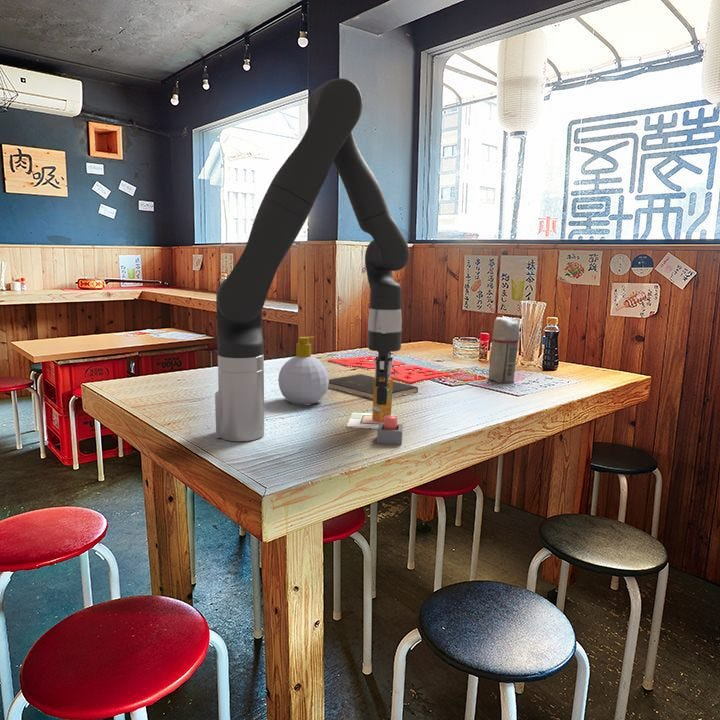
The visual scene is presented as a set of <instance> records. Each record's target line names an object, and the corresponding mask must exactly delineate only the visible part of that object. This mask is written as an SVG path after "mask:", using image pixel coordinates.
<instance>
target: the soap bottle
mask: <svg viewBox="0 0 720 720" xmlns="http://www.w3.org/2000/svg"><path fill="white" fill-rule="evenodd" d="M311 339H312V340H313V339H315V336H299V337H298V343H296V346H295V347H296V349H295V350H296V351H295V352H296V355H295V356H294V357H293V356H292V357H291V358H289V359H288V360H287V361H286V362H285V363H284V364H283V365H282V367H281V368H280V370H279V373H278V379H277V381H278V387H279V388H278V389H279V390H280V392H281V395H282V396H283V397H284V398H285V400H286V401H288V402H289V403H290V404H293V405H296V406H297V405H298V406H310V405H314V404H316V403H317V402H319V401H320V400H321V399H322V398H323V397H324V396H325V395H326V393H327V391H328V389H329V387H328V384H329V379H330V378H329V373H328V370H327V368H326V367H325V365H324V364H323V363H322V362H321V361H320V360H319V359H318V358H316V357H314V356H312V343H310V341H309V340H311Z"/></svg>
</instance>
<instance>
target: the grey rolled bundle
mask: <svg viewBox="0 0 720 720" xmlns="http://www.w3.org/2000/svg"><path fill="white" fill-rule="evenodd" d="M519 340H520V323H519V321H518V320H516V319H514V318H508V317H502V316H497V317H496V318H495V319H494V323H493V327H492V338H491V347H490V348H491V350H490V358H489V360H490V361H489V367H488V378H487V379H488V380H490V381H495V382H499V383H513V382H515V372H516V362H517V354H518V345H519Z"/></svg>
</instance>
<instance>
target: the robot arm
mask: <svg viewBox="0 0 720 720" xmlns="http://www.w3.org/2000/svg"><path fill="white" fill-rule="evenodd" d="M363 102H364V100H363V96H362V93H361V90H360V88H359V87H358V85H357V84H356V83H355V82H354V81H352V80H350V79H347V78H343V77H342V78H335V79H331V80H328V81H327V82H325V83H323V84H322V85H321V84H320V85H319V86H318V87H316V88H315V89H314V90H313V91H312V92H311V94H310V95H309V98H308V100H307V114H308V116H309V120H310V121H309V123H308V126H307V128H306V130H305V133H304V134H303V137H302V138H301V140H300V141H299V143H298V144H297V146H296V147H295V149H294V150H293V151H292V152H291V153H290V155H289V156H288V157H287V159H286V160H285V161H284V163H283V164H282V165H281V166H280V168H279V169H278V171H277V172H276V174H275V175H274V177H273V179H272V180H271V182H270V184H269V186H268V188H267V190H266V191H265V194H264V196H263V199H262V201H261V202H260V204H259V207H258V210H257V211H256V214H255V217H254V220H253V223H252V227H251V230H250V233H249V236H248V240H247V243H246V245H245V247H244V249H243V251H242V254H241V255H240V257H239V259H238V260H237V262H236V264H235V265H234V267H233V268H232V270H231V271H230V272H229V275H228V276H227V277H226V278H225V279H224V280H223V281H221V283H219V286H218V288H217V291H216V294H215V295H216V304H215V305H216V337H217V338H216V342H217V345H216V347H217V373H218V374H217V378H218V380H217V382H218V386H217V387H218V390H217V391H216V392H215V394H214V404H215V405H214V407H215V438H216V439H223V440H225V441H229V442H249V441H254V440H258V439H261V438H262V437H263V436H265V377H264V376H265V374H264V373H265V369H264V367H265V364H264V363H265V360H264V359H265V358H264V357H265V356H264V355H265V354H264V353H265V351H264V346H265V345H264V344H265V343H264V336H263V335H264V333H263V308H264V306H265V303H266V300H267V297H268V293H269V291H270V288H271V286H272V284H273V281H274V278H275V276H276V274H277V271H278V268H279V267H280V265H281V263H282V262H283V260H284V258H285V256H287V253H288V252H289V251H290V248H292V245H293V244H294V242H295V240H296V239H297V237H298V235H299V233H300V232H301V230H302V228H303V227H304V226H305V225H304V224H305V223H306V221H307V220H308V216H309V215H310V213H311V211H312V208H313V207H314V204H315V202H316V200H317V198H318V196H319V193H320V191H321V189H322V187H323V186H324V184H325V181H326V179H327V176H328V174H329V173H330V169H331V167H332V165H333V164H334V166H335V168H336V170H337V173H338V175H339V177H340V179H341V182H342V184H343V186H344V189H345V192H346V195H347V197H348V200H349V202H350V205H351V207H352V211H353V212H354V217H355V218H356V221H357V223H358V226H359V228H360V230H361V231H363V232H364V233H366V234H368V235H370V237H372V239H373V240H371V241H370V242H369V244H368V245H367V247H366V249H365V253H364V262H365V263H364V264H365V270H366V276H367V281H368V285H369V289H370V292H369V314H368V318H367V319H368V321H367V323H368V324H367V325H368V326H367V349H368V350H370V351H372V352H377V353H378V354H377V357H376V359H375V370H374V377H375V378H376V383H375V385H376V388H377V404H378V405H386V403H387V387H388V379H390V375H391V372H392V364H393V360H394V357H392V352H394V353H395V352H398V351H401V348H402V331H403V330H402V325H403V317H402V316H403V315H402V295H403V293H402V291H403V290H402V286H401V284H400V283H398V282H396V281H395V280H394V275H393V272H398V271H401V270H403V269H404V268H405V267H406V266H407V264H408V263H409V259H410V249H409V245H408V241H407V240H406V237H405V236H404V234H403V232H402V231H401V229H400V228H399V226H398V225H397V223H396V222H395V220H394V219H393V217H392V215H391V214H390V210H389V208H388V204H387V202H386V199H385V196H384V193H383V190H382V188H381V186H380V183H379V182H378V180H377V177H376V176H375V174H374V173H373V171H372V170H371V168H370V167H369V165H368V164H367V162H366V161H365V159H364V157H363V156H362V153H361V151H360V149H359V148H358V145H357V141H356V139H355V137H354V132H353V131H354V129H355V127H356V125H357V124H358V122H359V120H360V118H361V116H362V111H363ZM379 379H385V382H379Z"/></svg>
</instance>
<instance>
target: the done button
mask: <svg viewBox="0 0 720 720" xmlns="http://www.w3.org/2000/svg"><path fill="white" fill-rule="evenodd" d="M397 424H398V416H397V415H395V414H392V415H386V416H384V429H386V430H397Z"/></svg>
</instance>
